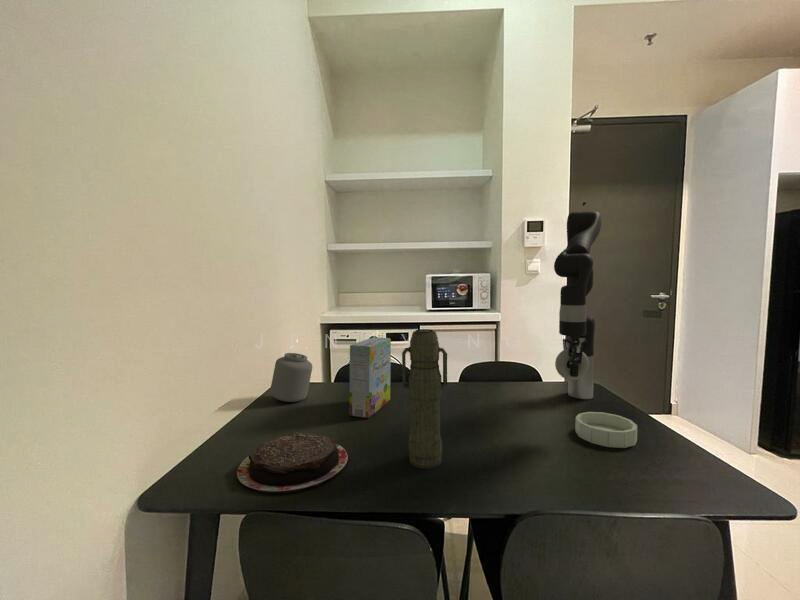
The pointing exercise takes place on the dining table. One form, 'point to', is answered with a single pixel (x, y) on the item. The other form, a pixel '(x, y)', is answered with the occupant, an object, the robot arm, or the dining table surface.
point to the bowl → (606, 429)
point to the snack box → (369, 376)
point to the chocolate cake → (292, 463)
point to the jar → (291, 377)
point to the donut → (565, 371)
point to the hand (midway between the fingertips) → (572, 374)
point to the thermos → (424, 398)
